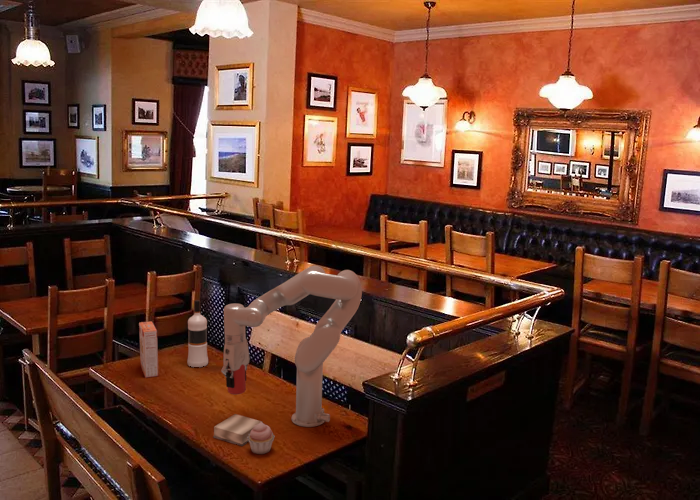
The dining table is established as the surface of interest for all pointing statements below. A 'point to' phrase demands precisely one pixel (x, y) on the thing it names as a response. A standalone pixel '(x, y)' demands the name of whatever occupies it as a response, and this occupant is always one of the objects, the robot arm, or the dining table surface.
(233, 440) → the stand
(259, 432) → the cupcake
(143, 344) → the cracker box
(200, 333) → the vodka
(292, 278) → the robot arm
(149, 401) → the dining table surface
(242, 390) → the beer can
